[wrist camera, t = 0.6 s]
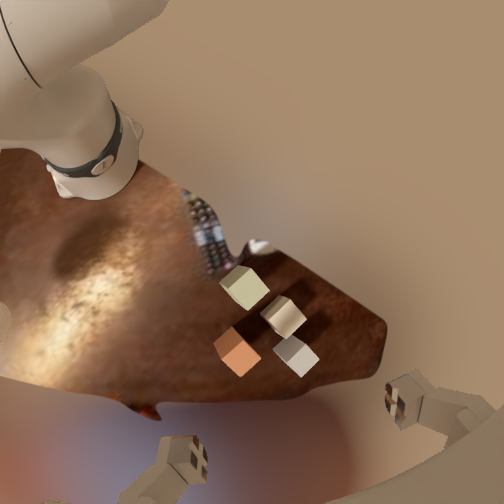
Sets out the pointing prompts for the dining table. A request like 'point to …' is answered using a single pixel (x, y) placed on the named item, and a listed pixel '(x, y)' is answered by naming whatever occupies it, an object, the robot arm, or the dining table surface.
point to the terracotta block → (236, 352)
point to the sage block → (244, 286)
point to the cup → (4, 322)
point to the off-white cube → (283, 316)
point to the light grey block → (296, 354)
